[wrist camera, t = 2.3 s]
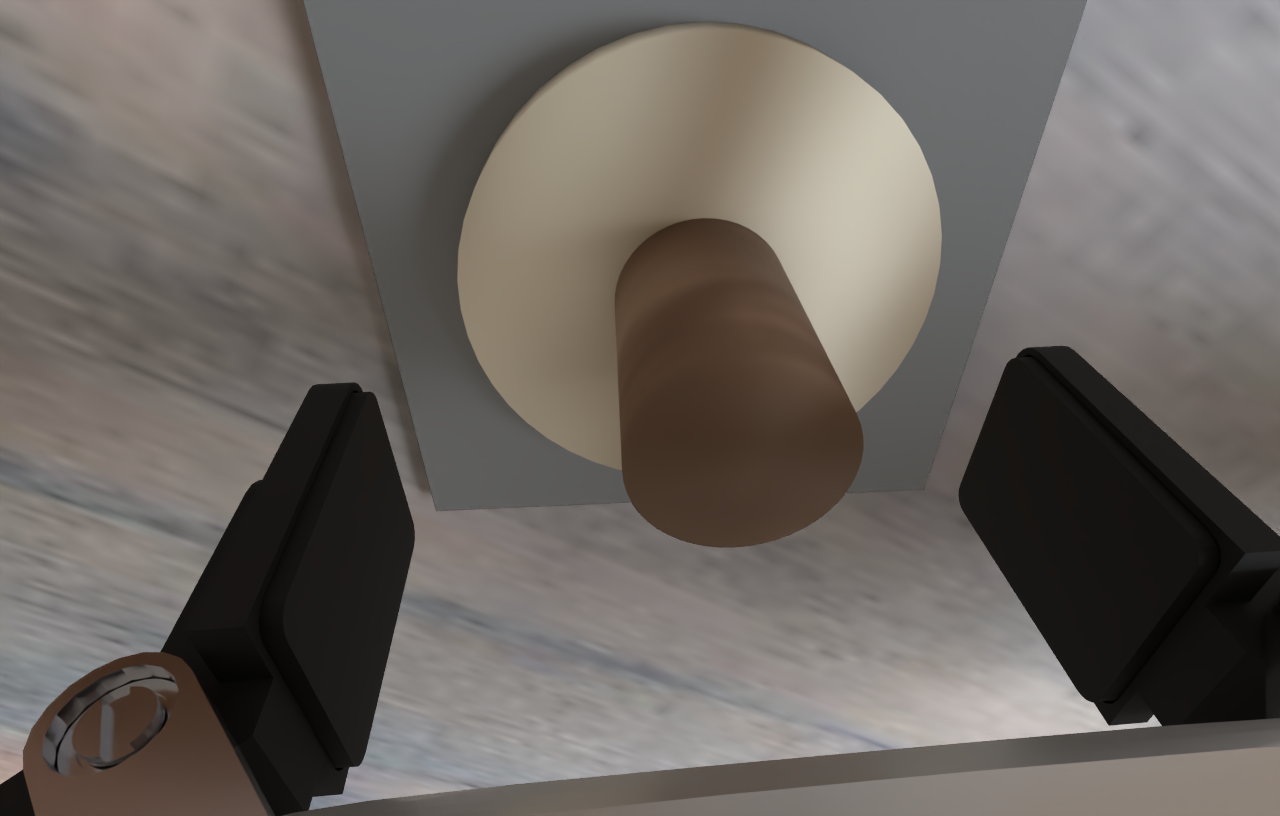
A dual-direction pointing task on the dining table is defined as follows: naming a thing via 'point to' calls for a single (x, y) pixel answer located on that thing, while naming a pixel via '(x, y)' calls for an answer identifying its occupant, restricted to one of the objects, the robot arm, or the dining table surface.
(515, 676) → the dining table surface
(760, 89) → the lid
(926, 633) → the dining table surface
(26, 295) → the dining table surface
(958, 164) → the mat
